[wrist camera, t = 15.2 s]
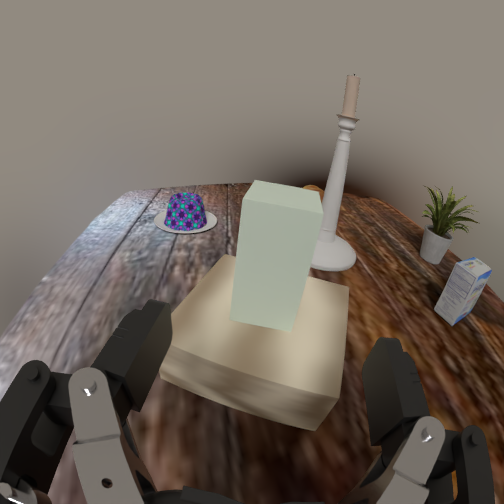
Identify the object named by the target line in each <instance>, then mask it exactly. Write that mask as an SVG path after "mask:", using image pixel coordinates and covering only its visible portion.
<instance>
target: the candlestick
mask: <svg viewBox="0 0 504 504" xmlns="http://www.w3.org/2000/svg"><path fill="white" fill-rule="evenodd" d="M359 84H360V78H359V77H357V76H355V74H354V76H353V75H347V82H346V89H345V96H344V103H343V110H342V115H339V114H338V115H337V116H338V118H339V123H338V126H339V127H340V136H339V137H338V141H337V145H336V149H335V153H334V157H333V162H332V166H331V170H330V174H329V177H328V181H327V185H326V189H325V193H324V197H323V200H322V208H323V213H324V215H323V219H322V223H321V227H320V231H319V235H318V239H317V243H316V247H315V251H314V255H313V259H312V262H311V266H310V267H312V268H315V269H319V270H325V271H342V270H346V269H349V268H351V267H352V266H353V265H354V263H355V260H356V254H355V252H354V250H353V249H352V247H351V246H350V245H349V244H348V243H347V242H346V241H345V240H343V239H342V238H340V237H338V236H336V235H335V231H336V226H337V221H338V215H339V210H340V205H341V199H342V193H343V187H344V181H345V175H346V168H347V161H348V155H349V147H350V142H351V141H350V134H351V131H352V130H354V129H355V123H356V122H357V121H358V120H359V119H356V118H355V112H356V105H357V98H358V91H359Z"/></svg>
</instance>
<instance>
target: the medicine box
mask: <svg viewBox="0 0 504 504" xmlns="http://www.w3.org/2000/svg"><path fill="white" fill-rule="evenodd" d="M491 271H492V270H491V269H490V268H489V267H488V266H487V265H485V264H484V263H483V262H481V261H480V260H478V259H477V258H474V257H473V258H470V259H467V260H464V261H461V262H457V263H456V264H455V266H454V269H453V271H452V273H451V275H450V277H449V279H448V282H447V284H446V286H445V288H444V290H443V292H442V294H441V296H440V298H439V300H438V302H437V304H436V306H435V308H434V310H435V311H436V312H437V313H438V314H439V315H440V316H441V317H442V318H443V319H444V320H445V321H447V322H448V323H449V324H450V325H451V326H453V325H454V324H455V323H457V322H458V321H460V320H461V319H462V318H464V317H465V316H466V315H468V314H469V313H470V312H471V310H472V308H473V307H474V305H475V303H476V301H477V299H478V297H479V296H480V294H481V292H482V290H483V288H484V286H485V284H486V282H487V280H488V278H489V276H490V274H491Z"/></svg>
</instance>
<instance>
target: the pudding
mask: <svg viewBox="0 0 504 504" xmlns="http://www.w3.org/2000/svg"><path fill="white" fill-rule="evenodd" d="M164 220H165V222H164ZM163 222H164V223H163ZM154 223H155V225H156V226H157V227H159V228H161V229H163V230H165V231H169V232H174V233H196V232H202V231H205V230H208V229H210V228H212V227H214V226H215V225H216V223H217V218H216V217H215V216H214V215H213V214H212V213H210V212H207V211H205V210H204V205H203V200H202V198H201V197H200V196H199V195H198V194H192V193H178V194H174V195H172V196H171V198H170V201H169V205H168V209H167V210H166V211H164V212H161V213H160V214H158V215H157V216H156V217H155V218H154ZM206 223H207V225H206V226H205V227H204V224H206ZM164 224H165V225H166V226H170V228H171V229H170V228H168V227H166V226H165V225H164ZM202 227H203V228H202ZM200 228H201V229H200ZM173 229H174V230H173ZM193 229H198V230H193ZM177 230H184V231H177ZM190 230H193V231H190Z"/></svg>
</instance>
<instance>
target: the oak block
mask: <svg viewBox="0 0 504 504" xmlns="http://www.w3.org/2000/svg"><path fill="white" fill-rule="evenodd" d="M235 263H236V257H233V256H230V255H226V254H224V255H223V256H222V257H221V259H220V260H219V261H218V262H217V263H216V264H215V265H214V266H213V267H212V269H211V270H210V271H209V272H208V273H207V274H206V275H205V276H204V278H203V279H202V280H201V281H200V282H199V283H198V284H197V285H196V287H195V288H194V289H193V290H192V291H191V292H190V293H189V294H188V296H187V297H186V298H185V299H184V300H183V301H182V302H181V304H180V305H179V306H178V307H177V308H176V309H175V310H174V311H173V313H172V314H171V320H172V330H173V336H172V341H171V345H170V347H169V349H168V351H167V354H166V356H165V358H164V360H163V362H162V364H161V367H160V369H159V372H160V377H161V378H162V379H164V380H166V381H168V382H170V383H172V384H175V385H177V386H179V387H181V388H183V389H186V390H188V391H190V392H193V393H195V394H198V395H200V396H202V397H205V398H207V399H210V400H213V401H215V402H218V403H220V404H223V405H226V406H229V407H231V408H234V409H237V410H240V411H243V412H246V413H249V414H252V415H255V416H259V417H262V418H265V419H269V420H272V421H276V422H279V423H283V424H287V425H290V426H294V427H298V428H303V429H307V430H311V431H316V430H317V428H318V427H319V426H320V424H321V423H322V422H323V420H324V419H325V418H326V416H327V415H328V414H329V412H330V411H331V409H332V408H333V407H334V405H335V404H336V402H337V401H338V399H339V396H340V389H341V381H342V373H343V364H344V355H345V344H346V332H347V317H348V298H349V287H347V286H343V285H339V284H335V283H331V282H328V281H324V280H320V279H316V278H312V277H307V280H306V284H305V288H304V291H303V294H302V298H301V301H300V305H299V308H298V311H297V315H296V318H295V321H294V324H293V328H292V331H291V332H289V331H283V330H278V329H272V328H267V327H262V326H257V325H252V324H247V323H242V322H237V321H232V320H229V319H230V310H231V300H232V290H233V281H234V272H235Z"/></svg>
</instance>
